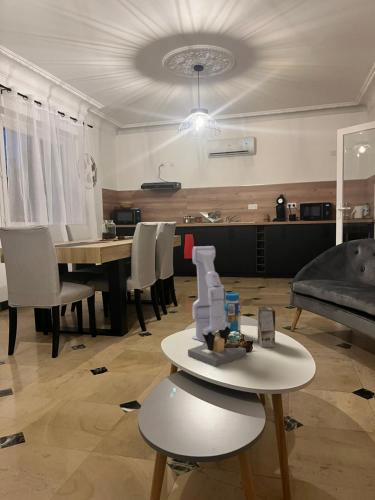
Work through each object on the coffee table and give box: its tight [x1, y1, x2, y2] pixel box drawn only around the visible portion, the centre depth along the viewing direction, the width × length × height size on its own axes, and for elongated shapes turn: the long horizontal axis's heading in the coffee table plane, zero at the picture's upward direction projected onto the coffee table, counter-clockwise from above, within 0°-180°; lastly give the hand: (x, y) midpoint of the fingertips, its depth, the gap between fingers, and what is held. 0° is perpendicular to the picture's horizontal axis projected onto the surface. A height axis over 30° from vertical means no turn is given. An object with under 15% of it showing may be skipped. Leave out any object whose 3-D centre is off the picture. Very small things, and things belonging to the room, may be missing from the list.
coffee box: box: [257, 306, 276, 348], centre depth 161 cm, size 9×6×16 cm
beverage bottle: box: [224, 292, 242, 334], centre depth 176 cm, size 8×8×20 cm
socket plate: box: [187, 342, 247, 368], centre depth 149 cm, size 18×16×3 cm
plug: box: [213, 335, 224, 353], centre depth 149 cm, size 4×5×7 cm
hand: (216, 347), depth 149 cm, fingers open, 7 cm apart
